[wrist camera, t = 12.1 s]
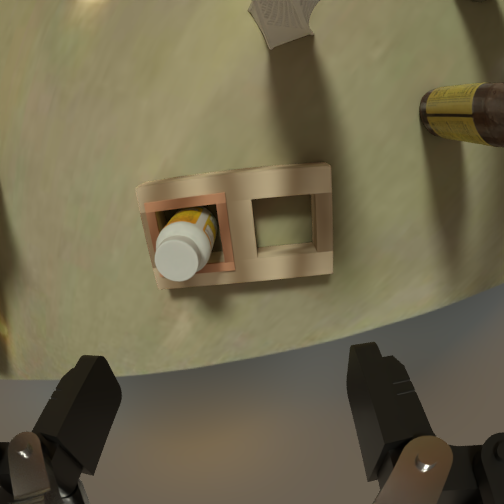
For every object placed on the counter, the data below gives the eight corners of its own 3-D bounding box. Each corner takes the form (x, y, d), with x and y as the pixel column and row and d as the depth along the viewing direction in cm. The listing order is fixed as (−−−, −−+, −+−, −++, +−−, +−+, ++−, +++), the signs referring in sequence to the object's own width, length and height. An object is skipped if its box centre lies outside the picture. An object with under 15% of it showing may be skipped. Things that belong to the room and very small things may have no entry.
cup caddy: (324, 161, 33) (331, 166, 30) (327, 261, 38) (333, 274, 35) (144, 182, 34) (134, 188, 31) (164, 277, 38) (157, 290, 35)
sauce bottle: (459, 135, 31) (583, 169, 13) (420, 139, 31) (547, 173, 13) (453, 86, 28) (578, 89, 10) (412, 86, 29) (541, 79, 11)
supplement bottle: (227, 222, 36) (219, 258, 27) (200, 256, 37) (185, 299, 29) (189, 194, 34) (167, 220, 26) (163, 230, 36) (136, 265, 27)
